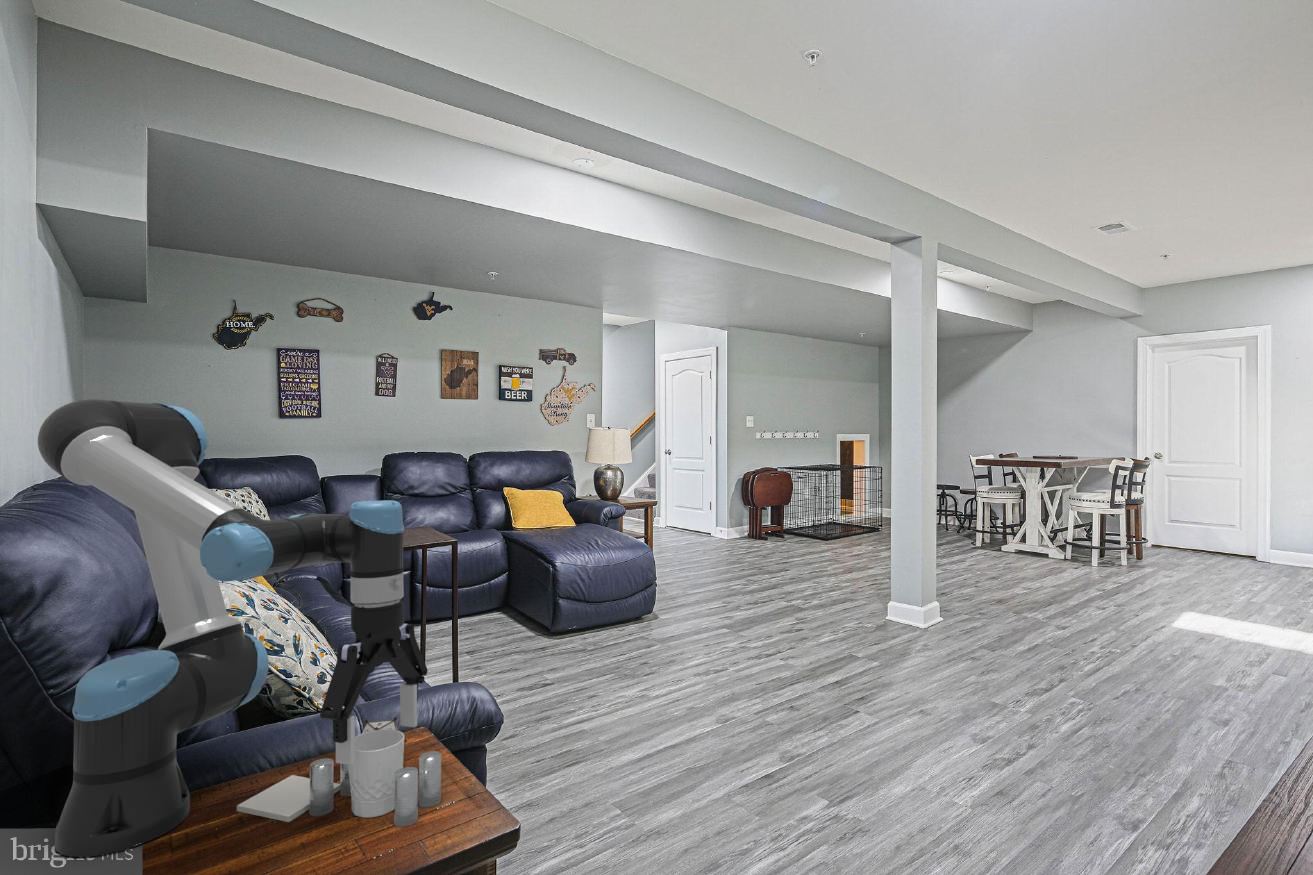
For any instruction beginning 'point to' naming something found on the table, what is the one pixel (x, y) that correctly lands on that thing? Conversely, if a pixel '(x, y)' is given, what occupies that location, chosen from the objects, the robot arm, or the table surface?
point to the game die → (380, 726)
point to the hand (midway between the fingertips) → (379, 743)
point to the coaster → (282, 799)
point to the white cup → (375, 771)
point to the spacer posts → (402, 787)
